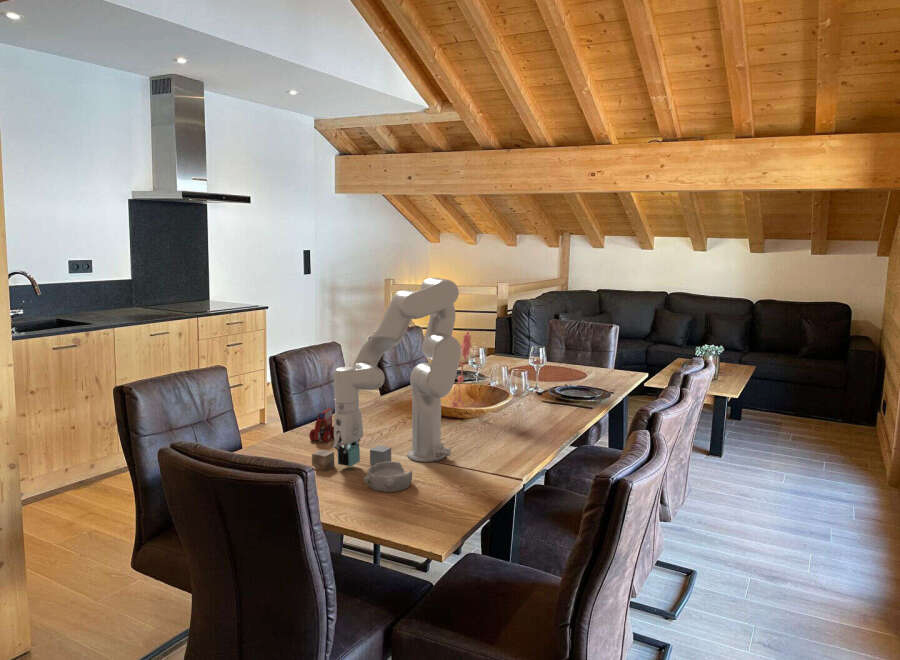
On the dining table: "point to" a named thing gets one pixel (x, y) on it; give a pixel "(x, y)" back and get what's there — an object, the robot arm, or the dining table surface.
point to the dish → (388, 477)
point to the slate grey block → (380, 454)
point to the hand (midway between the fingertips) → (348, 461)
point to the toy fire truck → (323, 426)
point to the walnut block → (323, 460)
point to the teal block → (352, 455)
